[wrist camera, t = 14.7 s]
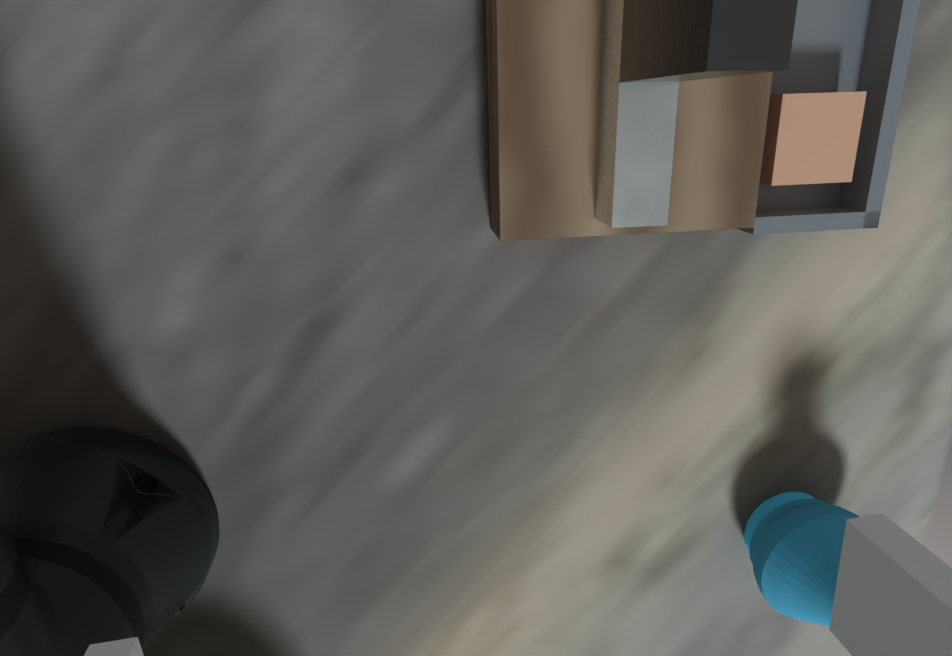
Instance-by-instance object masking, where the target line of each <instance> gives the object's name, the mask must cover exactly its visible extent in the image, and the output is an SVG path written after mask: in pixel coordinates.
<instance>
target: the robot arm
mask: <svg viewBox="0 0 952 656" xmlns="http://www.w3.org/2000/svg"><path fill="white" fill-rule="evenodd" d="M218 541H219V522H218V516H217V512H216V509H215V506H214V503H213V501H212V499H211V496H210V494H209V493H208V491H207V489H206V488H205V486H204V485H203V483H202V482H201V480H200V479H199V478H198V477H197V476H196V474H195V473H194V472H193V471H192V470H191V469H190V468H189V467H188V466H187V465H186V464H184V463H183V462H182V461H181V460H180V459H178V458H177V457H176V456H174V455H173V454H171V453H170V452H168V451H167V450H165V449H163V448H161V447H160V446H158V445H156V444H154V443H151V442H149V441H147V440H144V439H142V438H139V437H136V436H133V435H130V434H126V433H122V432H117V431H112V430H104V429H86V428H84V429H70V430H63V431H57V432H53V433H49V434H45V435H42V436H39V437H37V438H34V439H32V440H30V441H28V442H26V443H24V444H22V445H20V446H19V447H17V448H15V449H14V450H13V451H11V452H10V453H9V454H7V455H6V456H5V457H4V458H3V459H2V460H0V656H144V655H143V652H142V650H143V649H144V648H145V647H146V646H147V645H148V643H149V642H150V641H151V640H152V639H153V638H154V637H155V636H156V635H157V634H158V633H159V632H160V631H161V629H162V628H163V627H164V626H165V625H166V624H167V623H168V622H169V621H170V620H172V619H173V618H174V617H175V616H177V615H178V614H179V613H180V612H181V611H182V610H183V609H184V608H185V607H186V606H187V605H188V604H189V603H190V602H191V601H192V599H193V598H194V597H195V595H196V594H197V592H198V591H199V590H200V588H201V586H202V585H203V583H204V581H205V578H206V576H207V574H208V571H209V569H210V567H211V564H212V562H213V560H214V557H215V554H216V551H217V547H218ZM829 630H830V631H831V632H832V633H833V634H834V635H835V637H836V638H837V639H838V640H839V641H840V642H841V643H842V645H843V646H844V647H845V648H846V649H847V650H848V651H849V652H850V654H851V655H852V656H952V568H951V567H950V566H948V565H947V564H946V563H944V562H943V561H942V560H941V559H939V558H938V557H937V556H936V555H934V554H933V553H932V552H931V551H929V550H928V549H927V548H925V547H924V546H923V545H922V544H920V543H919V542H918V541H917V540H915V539H914V538H913V537H911V536H910V535H909V534H908V533H906V532H905V531H904V530H903V529H901V528H900V527H899V526H897V525H896V524H895V523H894V522H892V521H891V520H890V519H889V518H887V517H886V516H885V515H883V514H876V515H870V516H864V517H858V518H852V519H846V526H845V532H844V538H843V545H842V551H841V557H840V564H839V570H838V577H837V583H836V589H835V596H834V602H833V608H832V615H831V621H830V627H829Z"/></svg>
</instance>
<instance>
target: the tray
mask: <svg viewBox="0 0 952 656" xmlns="http://www.w3.org/2000/svg"><path fill="white" fill-rule="evenodd" d="M920 1H921V0H798V4H797V11H796V18H795V26H794V33H793V40H792V47H791V55H790V62H789V69H788V70H784V71H775V72H773V75H772V83H771V91H770V95H772V94H798V93H830V92H862V91H867V94H866V100H865V106H864V112H863V117H862V123H861V129H860V135H859V141H858V147H857V153H856V159H855V165H854V171H853V177H852V182H841V183H820V184H799V185H777V186H770V185H765V184H760V183H759V190H758V198H757V206H756V215H755V223H754V228H737V229H740V230H742V231H745V232H748V233H751V234H767V233H785V232H804V231H823V230H842V229H860V228H878V224H879V218H880V213H881V208H882V202H883V197H884V192H885V186H886V181H887V176H888V171H889V165H890V160H891V155H892V149H893V144H894V139H895V134H896V128H897V123H898V118H899V112H900V107H901V102H902V96H903V91H904V86H905V81H906V75H907V70H908V65H909V59H910V54H911V49H912V43H913V38H914V33H915V28H916V22H917V17H918V12H919V6H920Z"/></svg>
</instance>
